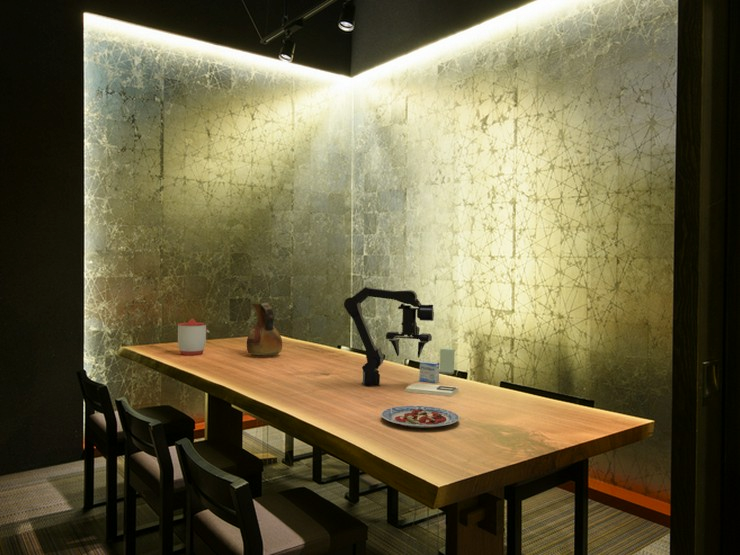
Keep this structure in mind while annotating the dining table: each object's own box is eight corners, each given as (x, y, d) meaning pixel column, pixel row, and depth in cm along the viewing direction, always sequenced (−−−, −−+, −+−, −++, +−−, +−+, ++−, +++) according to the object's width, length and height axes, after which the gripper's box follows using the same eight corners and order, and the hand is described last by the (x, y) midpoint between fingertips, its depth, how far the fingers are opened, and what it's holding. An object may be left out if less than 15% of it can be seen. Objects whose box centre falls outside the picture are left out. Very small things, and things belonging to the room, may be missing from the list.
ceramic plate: (411, 408, 209) (411, 400, 209) (473, 421, 192) (474, 412, 192) (364, 421, 190) (365, 412, 190) (429, 437, 173) (429, 427, 173)
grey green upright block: (439, 373, 234) (440, 348, 234) (442, 371, 238) (442, 347, 238) (451, 374, 233) (452, 349, 232) (454, 373, 236) (454, 348, 236)
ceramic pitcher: (270, 352, 336) (271, 300, 335) (289, 356, 320) (290, 302, 320) (240, 354, 323) (240, 301, 323) (257, 359, 308) (258, 303, 307)
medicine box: (418, 381, 258) (419, 362, 258) (422, 379, 262) (423, 360, 262) (435, 383, 254) (435, 363, 254) (439, 381, 258) (439, 362, 258)
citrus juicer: (212, 355, 321) (213, 319, 320) (180, 356, 312) (180, 320, 312) (205, 351, 334) (205, 316, 334) (174, 352, 326) (174, 317, 325)
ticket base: (405, 391, 236) (405, 386, 236) (414, 386, 247) (414, 381, 247) (451, 396, 228) (451, 391, 228) (458, 390, 240) (458, 385, 240)
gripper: (435, 319, 248) (434, 355, 248) (394, 317, 255) (394, 352, 255) (428, 321, 237) (427, 359, 238) (385, 319, 244) (385, 356, 245)
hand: (408, 356), depth 244 cm, fingers open, 9 cm apart
